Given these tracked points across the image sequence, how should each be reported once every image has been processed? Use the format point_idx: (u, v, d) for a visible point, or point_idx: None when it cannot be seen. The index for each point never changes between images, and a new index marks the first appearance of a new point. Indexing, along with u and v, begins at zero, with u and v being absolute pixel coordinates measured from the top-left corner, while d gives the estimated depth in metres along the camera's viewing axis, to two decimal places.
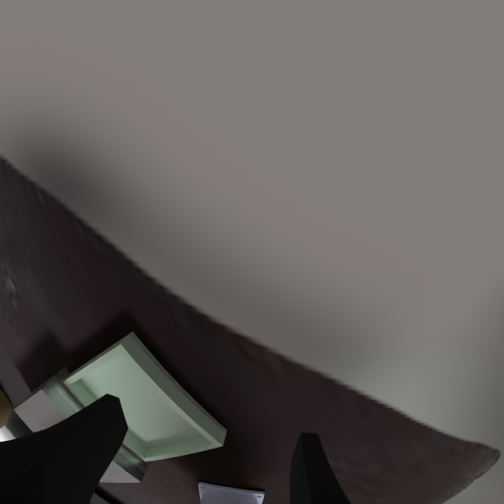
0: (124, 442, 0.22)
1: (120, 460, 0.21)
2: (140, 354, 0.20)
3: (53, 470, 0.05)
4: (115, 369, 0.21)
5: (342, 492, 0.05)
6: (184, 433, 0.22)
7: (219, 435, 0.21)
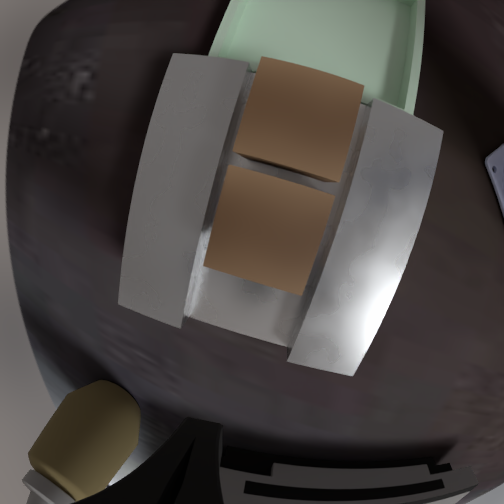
0: None
1: None
2: None
3: None
4: None
5: (217, 484, 0.06)
6: (395, 29, 0.13)
7: None
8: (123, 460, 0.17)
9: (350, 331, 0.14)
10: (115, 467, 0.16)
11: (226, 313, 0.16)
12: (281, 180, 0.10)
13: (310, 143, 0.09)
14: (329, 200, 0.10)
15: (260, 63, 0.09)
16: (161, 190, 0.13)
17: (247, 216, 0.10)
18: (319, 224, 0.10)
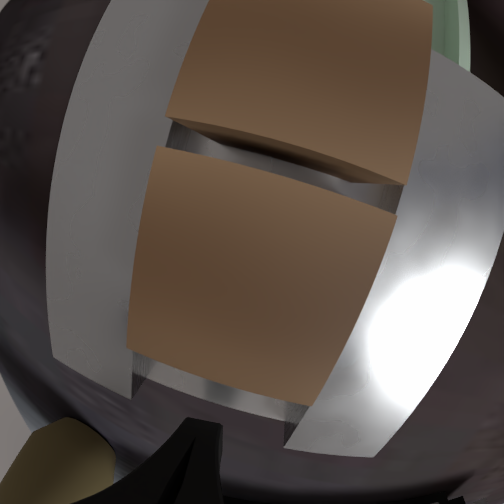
0: None
1: None
2: None
3: None
4: None
5: (217, 484, 0.06)
6: None
7: None
8: None
9: (379, 413, 0.08)
10: None
11: (196, 378, 0.10)
12: (275, 178, 0.04)
13: (342, 94, 0.04)
14: (384, 226, 0.04)
15: None
16: (82, 201, 0.07)
17: (198, 261, 0.05)
18: (360, 279, 0.04)
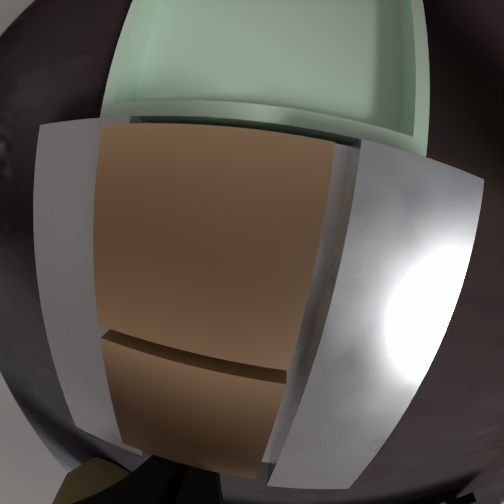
0: (336, 122, 0.08)
1: None
2: None
3: None
4: None
5: (217, 484, 0.06)
6: (379, 5, 0.08)
7: None
8: None
9: (340, 461, 0.09)
10: None
11: None
12: (184, 366, 0.05)
13: (220, 309, 0.05)
14: (276, 391, 0.05)
15: (102, 142, 0.04)
16: (69, 326, 0.09)
17: (151, 407, 0.06)
18: (263, 420, 0.05)
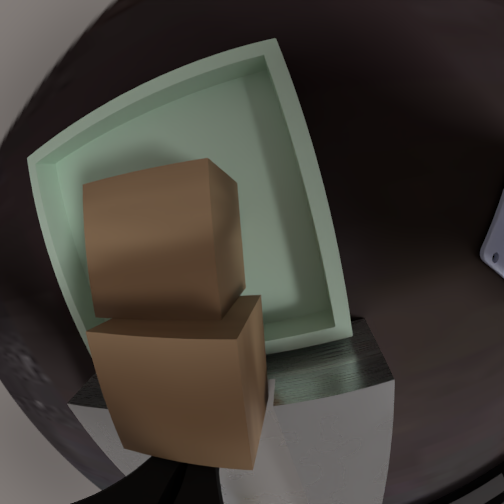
0: None
1: (295, 389, 0.09)
2: None
3: None
4: None
5: (217, 484, 0.06)
6: (265, 149, 0.10)
7: None
8: None
9: None
10: None
11: None
12: (148, 339, 0.06)
13: None
14: (230, 349, 0.06)
15: None
16: None
17: (134, 394, 0.06)
18: (231, 387, 0.06)
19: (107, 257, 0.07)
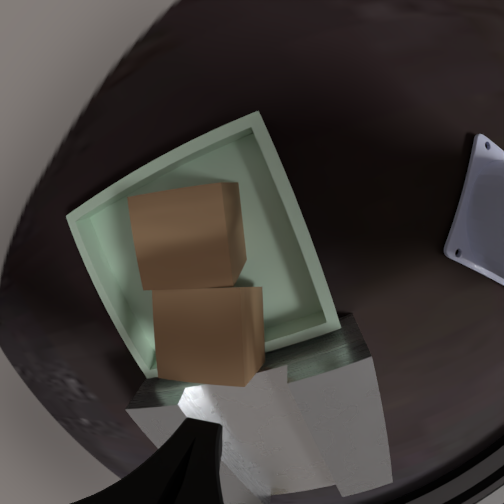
0: (276, 342, 0.14)
1: (302, 370, 0.12)
2: None
3: None
4: (127, 267, 0.16)
5: (217, 484, 0.06)
6: (260, 198, 0.14)
7: None
8: None
9: (372, 475, 0.13)
10: None
11: (290, 487, 0.16)
12: (192, 290, 0.11)
13: None
14: (236, 293, 0.11)
15: None
16: None
17: (176, 328, 0.11)
18: (235, 318, 0.11)
19: (152, 248, 0.11)
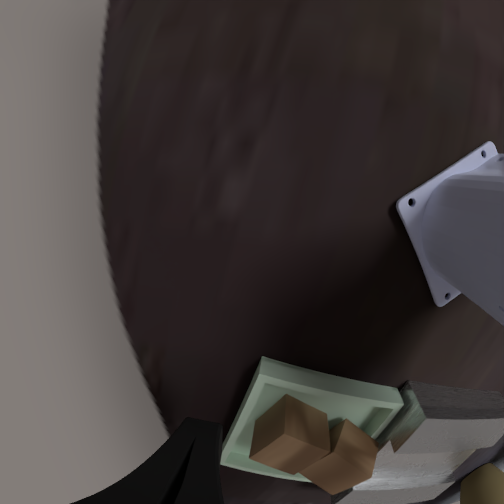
0: (376, 432, 0.17)
1: (397, 441, 0.15)
2: (222, 447, 0.20)
3: None
4: None
5: (217, 484, 0.06)
6: None
7: (256, 374, 0.18)
8: None
9: (496, 429, 0.14)
10: None
11: (458, 462, 0.17)
12: (314, 463, 0.15)
13: (272, 432, 0.16)
14: (334, 454, 0.15)
15: (255, 423, 0.19)
16: (398, 499, 0.17)
17: (322, 477, 0.15)
18: (343, 461, 0.14)
19: (281, 464, 0.16)
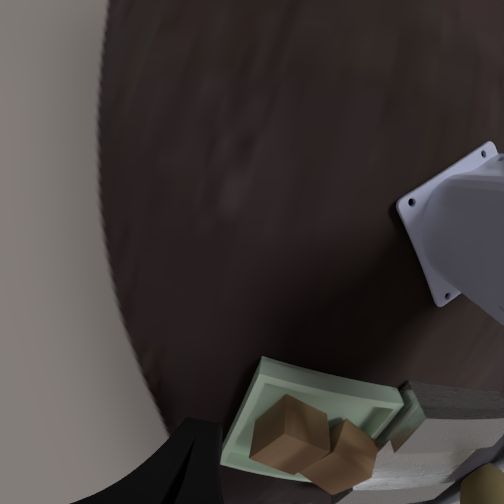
0: (376, 432, 0.17)
1: (397, 441, 0.15)
2: (222, 447, 0.20)
3: None
4: None
5: (217, 484, 0.06)
6: None
7: (256, 374, 0.18)
8: None
9: (496, 429, 0.14)
10: None
11: (458, 462, 0.17)
12: (314, 463, 0.15)
13: (272, 432, 0.16)
14: (334, 454, 0.15)
15: (255, 423, 0.19)
16: (398, 499, 0.17)
17: (322, 477, 0.15)
18: (343, 461, 0.14)
19: (281, 464, 0.16)
